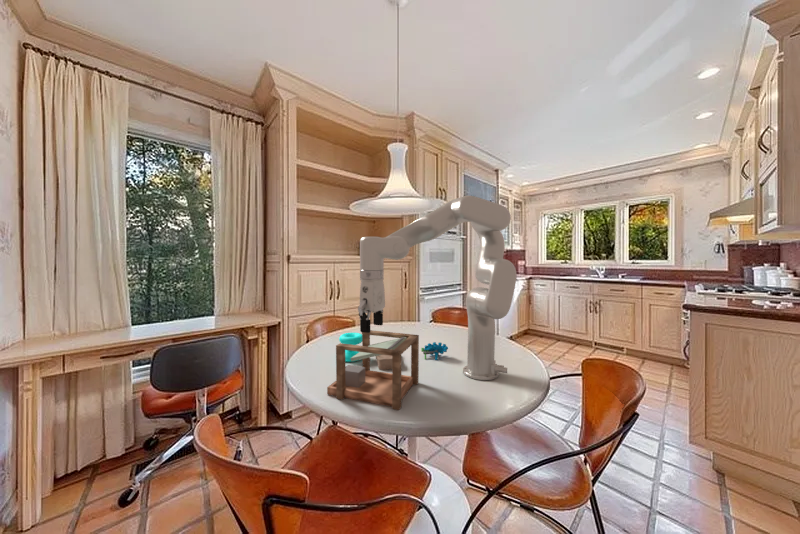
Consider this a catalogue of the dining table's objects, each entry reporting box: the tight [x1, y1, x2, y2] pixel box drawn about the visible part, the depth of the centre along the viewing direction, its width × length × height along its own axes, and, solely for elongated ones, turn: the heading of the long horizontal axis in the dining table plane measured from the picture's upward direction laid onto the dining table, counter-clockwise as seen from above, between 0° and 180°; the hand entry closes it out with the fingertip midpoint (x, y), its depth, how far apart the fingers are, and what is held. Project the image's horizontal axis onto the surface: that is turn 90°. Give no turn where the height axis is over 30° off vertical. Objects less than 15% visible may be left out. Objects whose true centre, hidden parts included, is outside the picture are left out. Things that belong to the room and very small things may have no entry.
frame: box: [326, 329, 420, 411], centre depth 102 cm, size 24×20×16 cm
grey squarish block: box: [345, 364, 365, 388], centre depth 105 cm, size 5×5×6 cm
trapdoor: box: [351, 337, 407, 362], centre depth 101 cm, size 14×14×1 cm
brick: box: [375, 355, 392, 371], centre depth 127 cm, size 17×8×5 cm, turn 9°
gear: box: [420, 341, 449, 361], centre depth 131 cm, size 11×6×10 cm
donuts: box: [338, 332, 362, 363], centre depth 131 cm, size 10×10×10 cm
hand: (372, 328), depth 102 cm, fingers open, 9 cm apart
